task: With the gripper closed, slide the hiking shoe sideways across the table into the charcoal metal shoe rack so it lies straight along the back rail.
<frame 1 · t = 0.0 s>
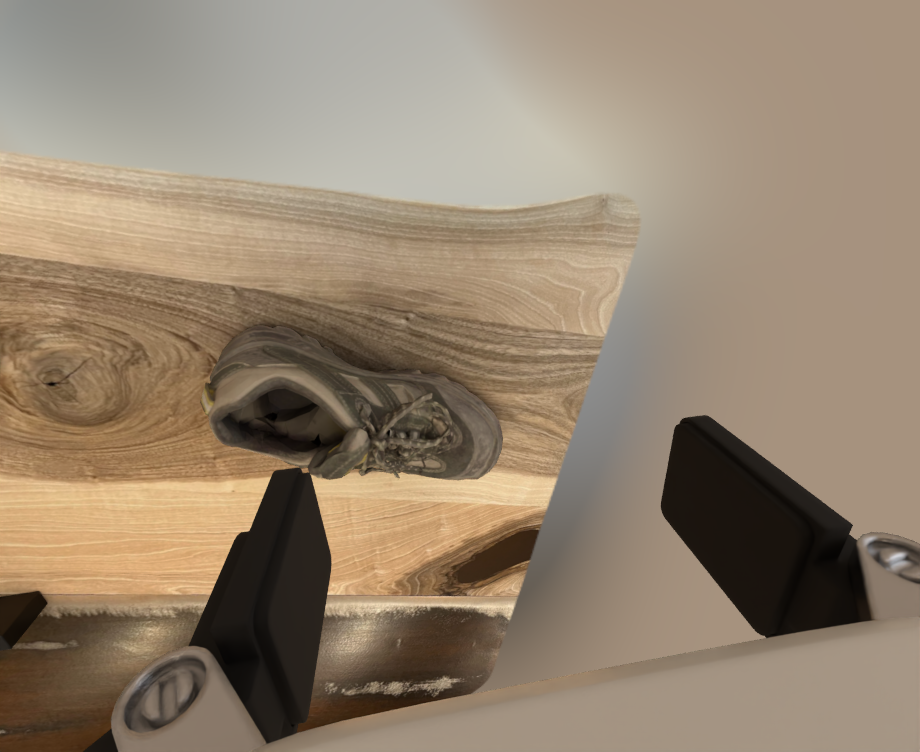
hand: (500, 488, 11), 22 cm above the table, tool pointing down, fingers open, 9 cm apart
hiking shoe: (371, 396, 34), on the table
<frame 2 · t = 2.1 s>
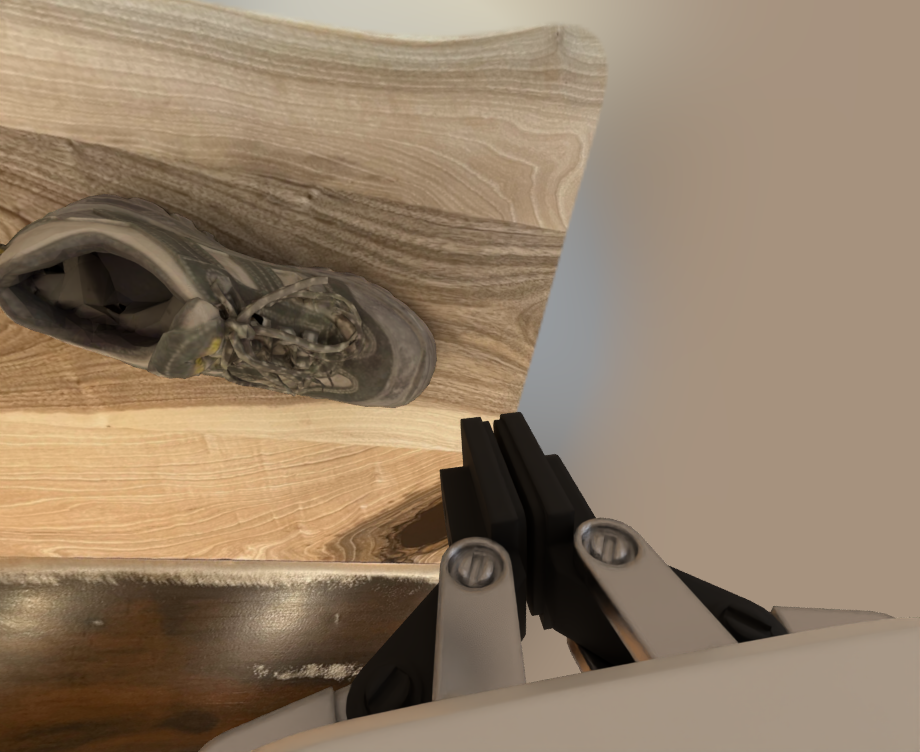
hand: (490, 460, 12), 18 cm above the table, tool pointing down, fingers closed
hiking shoe: (273, 304, 27), on the table
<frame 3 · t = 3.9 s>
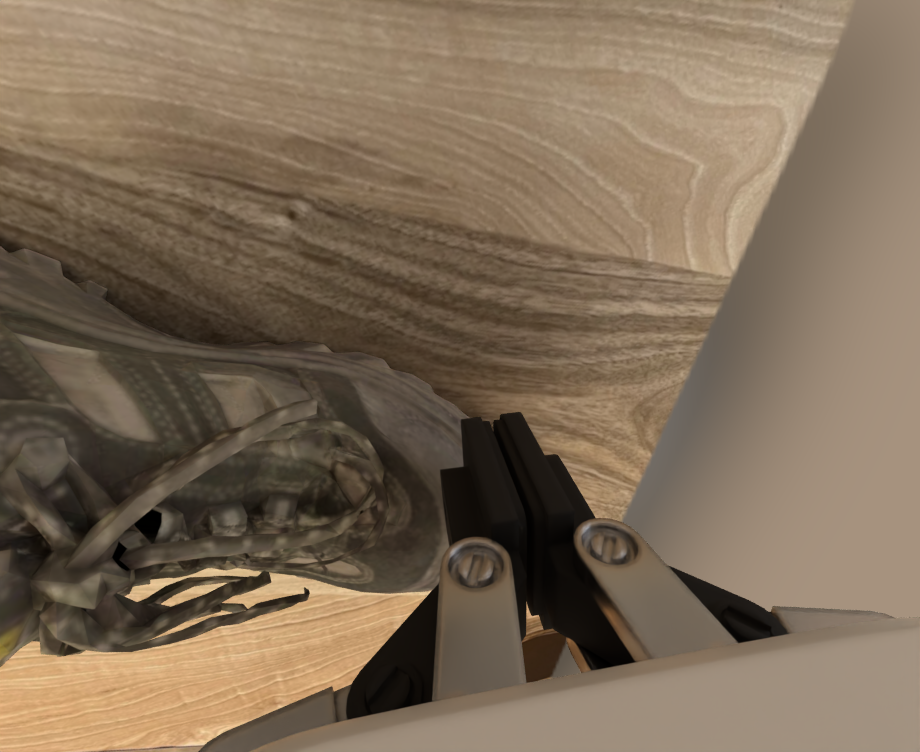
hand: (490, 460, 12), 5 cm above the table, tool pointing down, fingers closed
hiking shoe: (224, 401, 16), on the table, touching gripper
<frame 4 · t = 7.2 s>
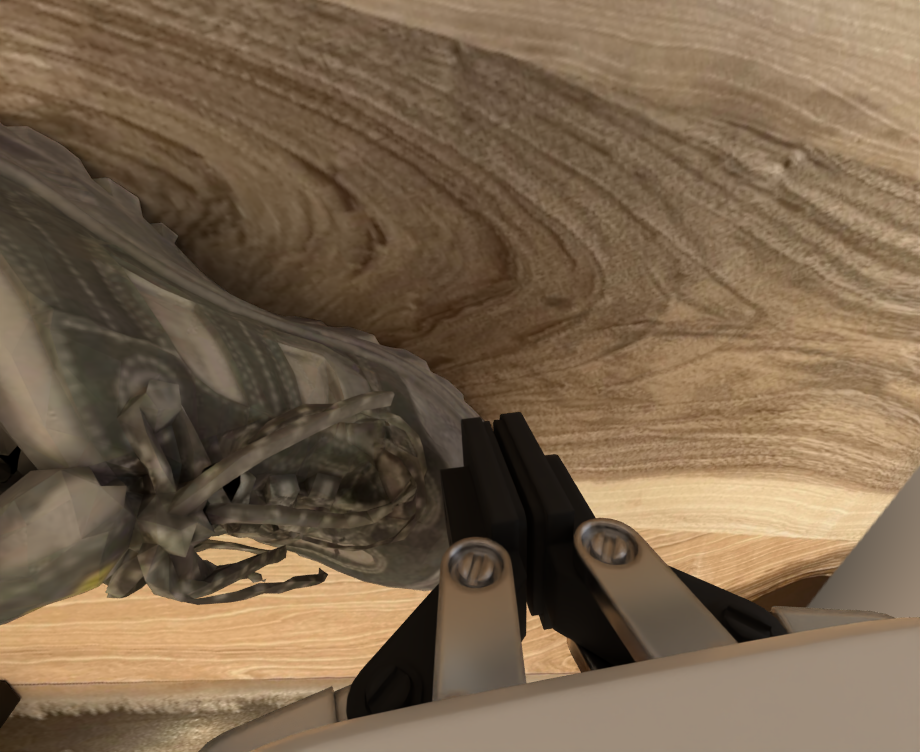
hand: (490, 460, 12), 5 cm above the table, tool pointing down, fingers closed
hiking shoe: (258, 368, 15), on the table, touching gripper
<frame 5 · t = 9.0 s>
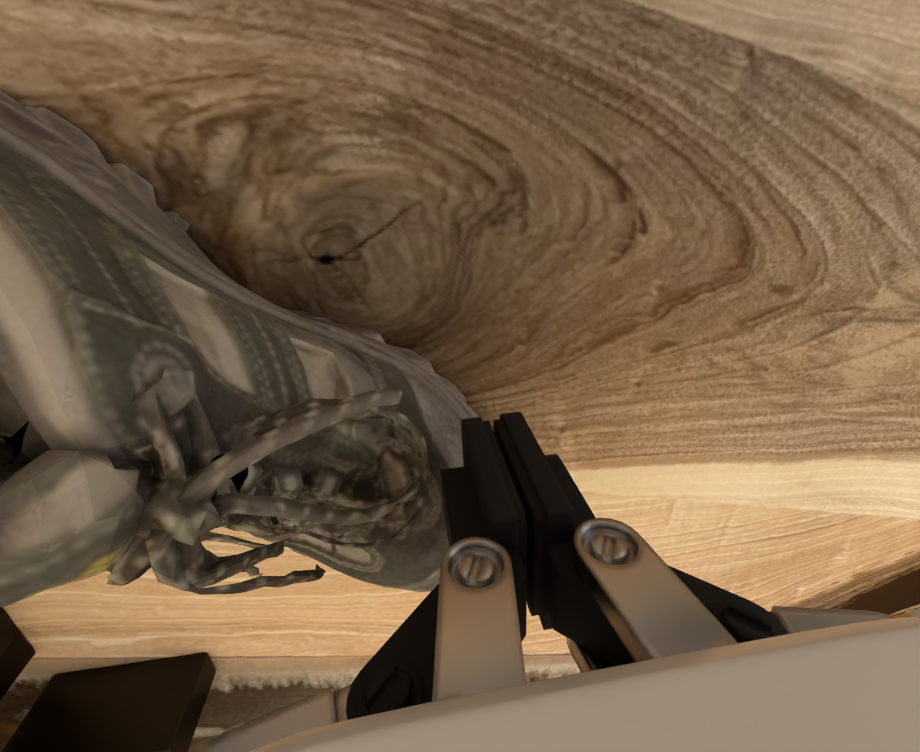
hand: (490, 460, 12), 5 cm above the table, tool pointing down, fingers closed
hiking shoe: (261, 362, 15), on the table, touching gripper
shoe rack: (33, 418, 15), on the table
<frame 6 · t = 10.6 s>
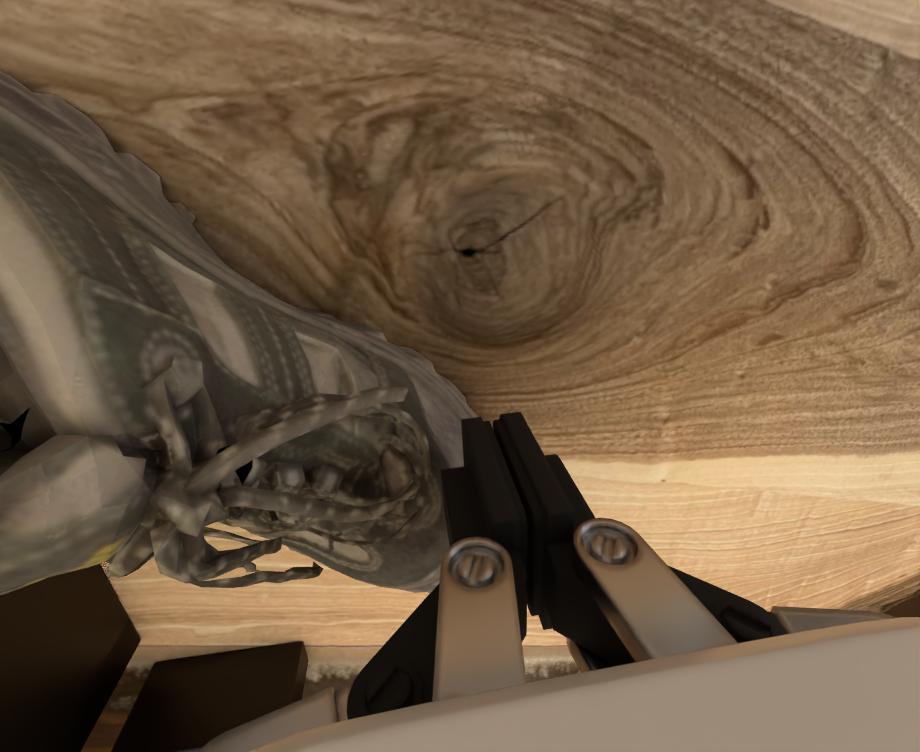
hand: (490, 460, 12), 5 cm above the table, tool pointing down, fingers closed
hiking shoe: (262, 357, 15), on the table, touching gripper, shoe rack
shoe rack: (174, 406, 15), on the table
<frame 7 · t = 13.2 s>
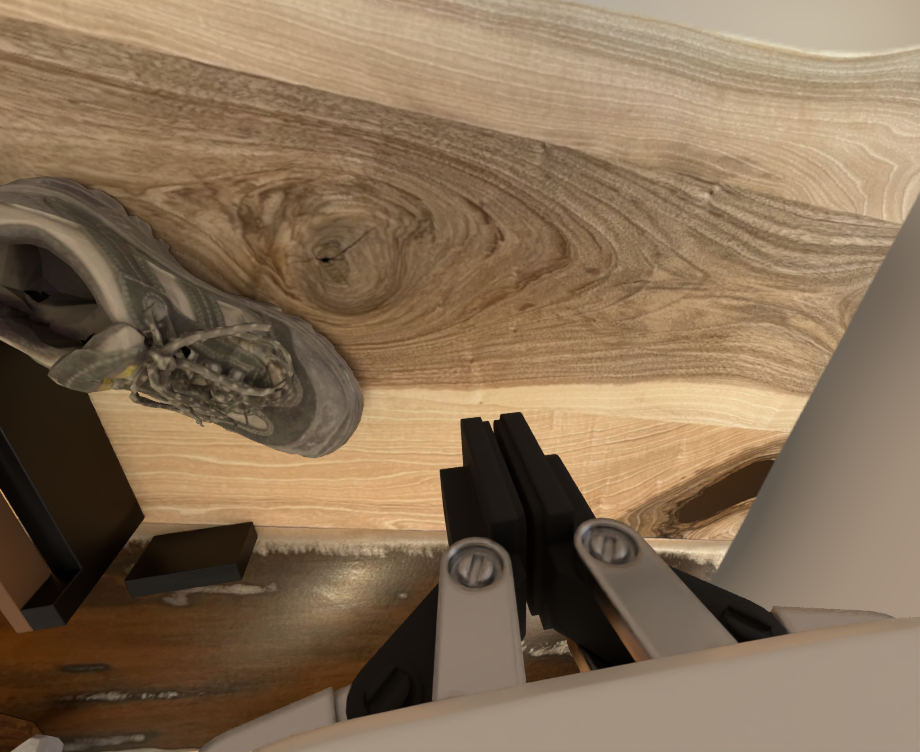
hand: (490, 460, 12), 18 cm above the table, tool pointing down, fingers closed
hiking shoe: (212, 324, 27), on the table
shoe rack: (162, 354, 27), on the table
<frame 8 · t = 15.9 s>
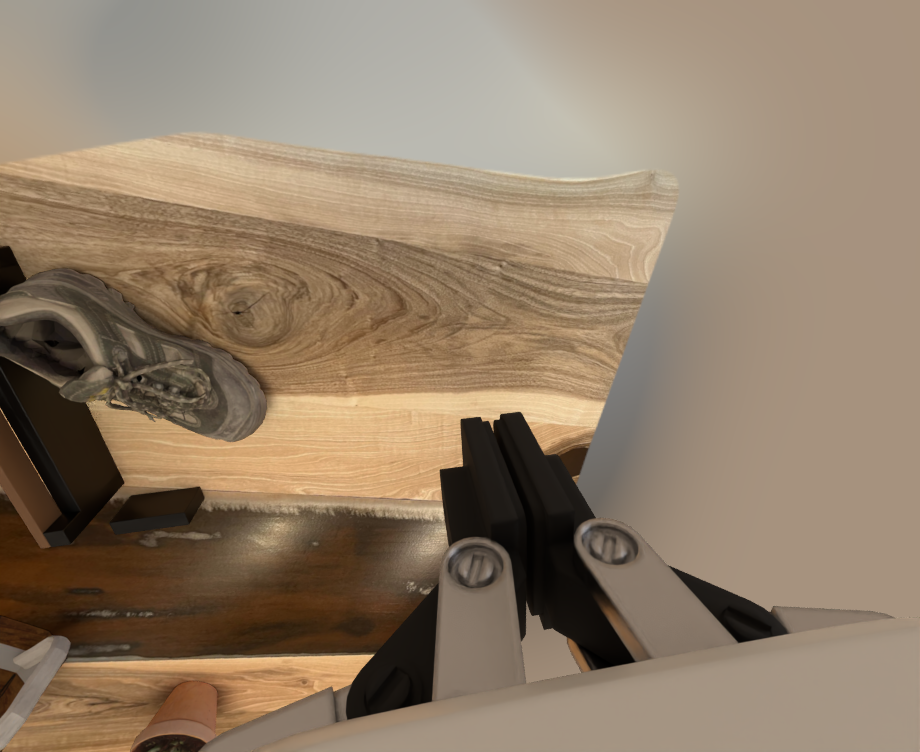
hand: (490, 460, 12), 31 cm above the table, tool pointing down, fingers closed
hiking shoe: (164, 354, 40), on the table
mug: (24, 641, 52), on the table
potted plant: (194, 692, 60), on the table
shoe rack: (132, 373, 40), on the table
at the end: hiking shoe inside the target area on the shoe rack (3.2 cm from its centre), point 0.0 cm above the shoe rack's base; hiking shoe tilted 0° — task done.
